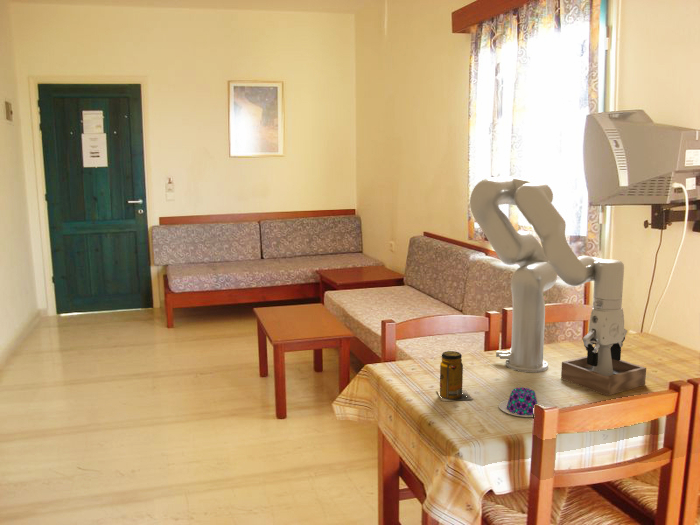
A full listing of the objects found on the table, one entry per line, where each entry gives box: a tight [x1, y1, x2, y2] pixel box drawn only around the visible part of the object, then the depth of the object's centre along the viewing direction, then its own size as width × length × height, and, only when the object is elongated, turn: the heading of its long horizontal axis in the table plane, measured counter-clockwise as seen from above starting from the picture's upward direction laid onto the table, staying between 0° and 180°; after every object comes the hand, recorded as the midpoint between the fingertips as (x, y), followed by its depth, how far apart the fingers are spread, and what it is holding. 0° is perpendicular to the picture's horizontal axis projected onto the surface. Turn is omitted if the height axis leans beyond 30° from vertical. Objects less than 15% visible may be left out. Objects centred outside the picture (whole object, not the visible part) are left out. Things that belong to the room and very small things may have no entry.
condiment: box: [439, 350, 474, 402], centre depth 180 cm, size 7×8×12 cm
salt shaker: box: [592, 344, 614, 376], centre depth 190 cm, size 6×6×13 cm
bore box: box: [560, 355, 647, 397], centre depth 191 cm, size 16×16×5 cm
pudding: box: [498, 387, 546, 418], centre depth 172 cm, size 12×12×5 cm
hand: (603, 362), depth 190 cm, fingers open, 9 cm apart
